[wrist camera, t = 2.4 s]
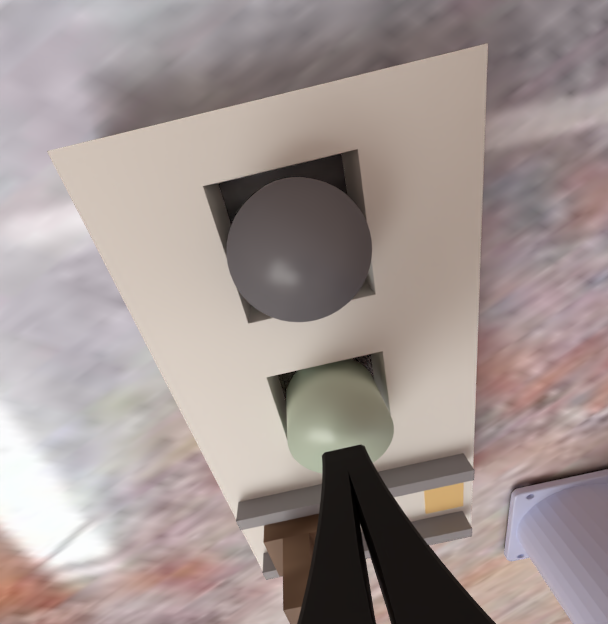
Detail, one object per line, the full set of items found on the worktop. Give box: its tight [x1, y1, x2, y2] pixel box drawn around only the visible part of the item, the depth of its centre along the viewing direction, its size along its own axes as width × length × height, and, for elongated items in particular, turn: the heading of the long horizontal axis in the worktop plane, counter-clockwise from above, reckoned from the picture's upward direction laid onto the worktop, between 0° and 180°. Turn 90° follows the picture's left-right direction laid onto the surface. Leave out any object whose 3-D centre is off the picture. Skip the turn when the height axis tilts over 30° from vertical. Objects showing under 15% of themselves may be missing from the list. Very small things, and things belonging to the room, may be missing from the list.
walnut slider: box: [263, 514, 319, 624], centre depth 14 cm, size 3×3×4 cm
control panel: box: [47, 43, 488, 580], centre depth 13 cm, size 12×22×3 cm, turn 12°
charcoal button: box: [226, 177, 372, 322], centre depth 9 cm, size 4×4×2 cm
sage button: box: [286, 359, 394, 473], centre depth 12 cm, size 4×4×2 cm
